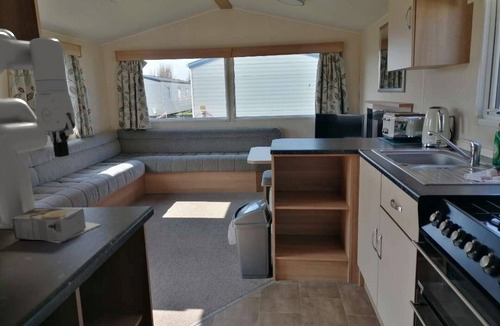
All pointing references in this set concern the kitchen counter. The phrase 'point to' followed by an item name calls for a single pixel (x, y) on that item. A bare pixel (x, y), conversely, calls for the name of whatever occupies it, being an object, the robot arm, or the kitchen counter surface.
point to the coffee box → (49, 224)
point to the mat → (88, 227)
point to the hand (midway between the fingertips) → (62, 156)
